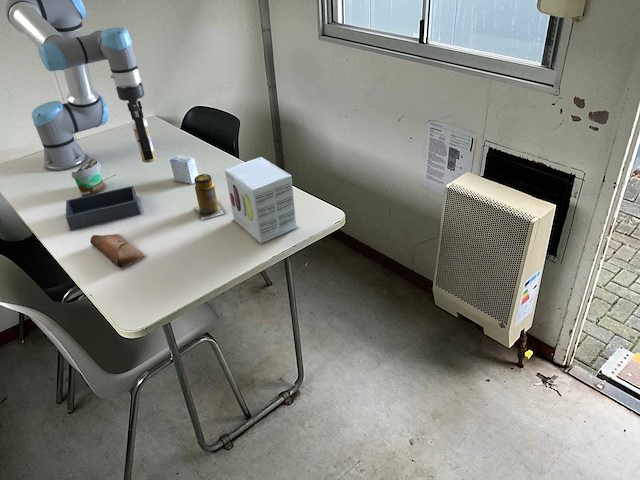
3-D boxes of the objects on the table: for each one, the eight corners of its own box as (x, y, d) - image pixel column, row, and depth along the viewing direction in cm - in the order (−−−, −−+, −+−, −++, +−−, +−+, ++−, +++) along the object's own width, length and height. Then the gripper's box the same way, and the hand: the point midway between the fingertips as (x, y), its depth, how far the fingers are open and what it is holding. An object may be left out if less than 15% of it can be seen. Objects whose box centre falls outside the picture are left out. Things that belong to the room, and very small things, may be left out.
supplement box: (232, 220, 160) (222, 169, 150) (268, 206, 167) (261, 155, 156) (260, 244, 149) (252, 190, 138) (298, 228, 155) (292, 174, 145)
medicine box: (199, 179, 186) (194, 157, 181) (192, 184, 182) (187, 162, 178) (182, 175, 189) (177, 154, 184) (174, 181, 185) (169, 159, 180)
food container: (95, 199, 178) (86, 173, 172) (80, 198, 179) (70, 172, 173) (114, 182, 188) (106, 157, 182) (99, 181, 189) (90, 157, 183)
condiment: (216, 202, 171) (210, 170, 164) (224, 214, 164) (217, 181, 157) (195, 208, 168) (188, 176, 161) (202, 220, 162) (194, 187, 155)
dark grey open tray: (71, 212, 171) (66, 200, 168) (137, 197, 177) (133, 185, 174) (70, 230, 161) (65, 217, 159) (140, 214, 167) (136, 201, 165)
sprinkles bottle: (152, 163, 163) (141, 123, 155) (139, 163, 164) (128, 123, 156) (158, 157, 167) (148, 117, 159) (145, 156, 168) (135, 117, 160)
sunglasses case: (146, 255, 147) (130, 244, 141) (130, 274, 145) (113, 264, 140) (117, 233, 157) (101, 222, 152) (102, 251, 156) (85, 240, 151)
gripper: (113, 78, 157) (134, 148, 170) (117, 94, 143) (138, 169, 157) (138, 74, 159) (156, 144, 172) (144, 90, 146) (163, 164, 159)
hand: (148, 156), depth 164 cm, fingers closed on sprinkles bottle, 4 cm apart
